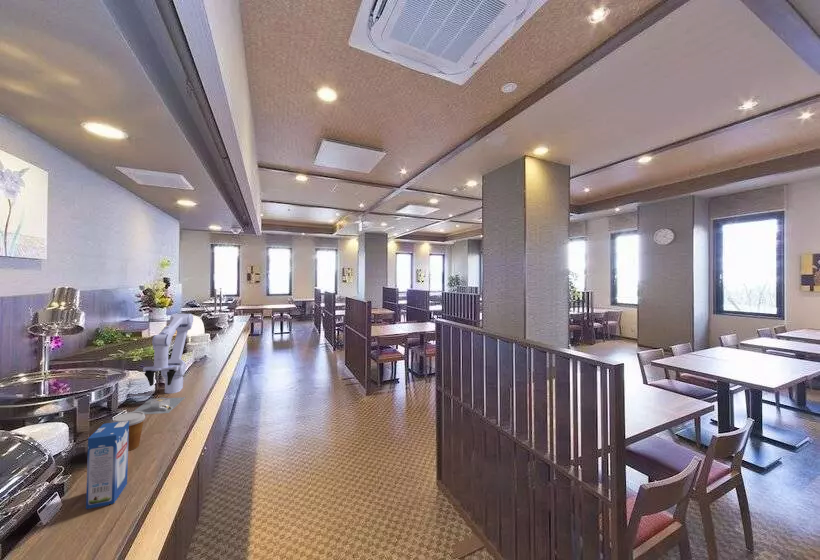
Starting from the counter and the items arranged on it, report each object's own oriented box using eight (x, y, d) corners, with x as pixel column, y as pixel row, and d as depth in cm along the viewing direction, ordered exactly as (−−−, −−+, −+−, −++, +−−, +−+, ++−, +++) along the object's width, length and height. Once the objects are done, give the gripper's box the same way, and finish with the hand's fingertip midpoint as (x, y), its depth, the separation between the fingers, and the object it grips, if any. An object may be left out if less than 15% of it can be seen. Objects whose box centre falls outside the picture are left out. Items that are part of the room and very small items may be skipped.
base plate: (149, 401, 168) (150, 391, 168) (185, 399, 173) (185, 390, 173) (127, 417, 149) (128, 406, 149) (168, 415, 153) (169, 404, 153)
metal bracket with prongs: (150, 409, 156) (150, 401, 156) (161, 405, 161) (161, 397, 161) (163, 411, 154) (164, 403, 154) (174, 407, 159) (174, 399, 159)
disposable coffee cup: (129, 454, 120) (130, 422, 120) (104, 453, 120) (105, 420, 120) (150, 441, 129) (151, 411, 129) (127, 440, 130) (128, 410, 130)
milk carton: (101, 488, 102) (103, 423, 101) (127, 483, 104) (129, 420, 104) (85, 509, 92) (87, 438, 92) (114, 504, 95) (116, 434, 95)
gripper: (140, 360, 160) (139, 388, 160) (174, 359, 164) (173, 386, 164) (147, 357, 167) (146, 383, 167) (180, 356, 171) (179, 382, 171)
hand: (160, 385), depth 166 cm, fingers open, 7 cm apart
